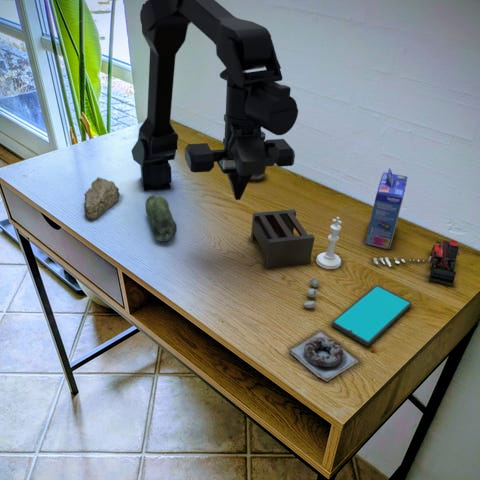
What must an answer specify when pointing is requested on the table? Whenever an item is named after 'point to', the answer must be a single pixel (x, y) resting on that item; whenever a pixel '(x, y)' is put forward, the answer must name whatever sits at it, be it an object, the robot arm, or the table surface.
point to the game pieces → (312, 293)
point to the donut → (323, 356)
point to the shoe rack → (282, 238)
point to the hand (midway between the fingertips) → (237, 199)
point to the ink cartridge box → (386, 210)
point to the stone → (100, 197)
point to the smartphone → (371, 315)
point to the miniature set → (395, 261)
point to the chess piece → (331, 249)
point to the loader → (444, 262)
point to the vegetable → (160, 218)
